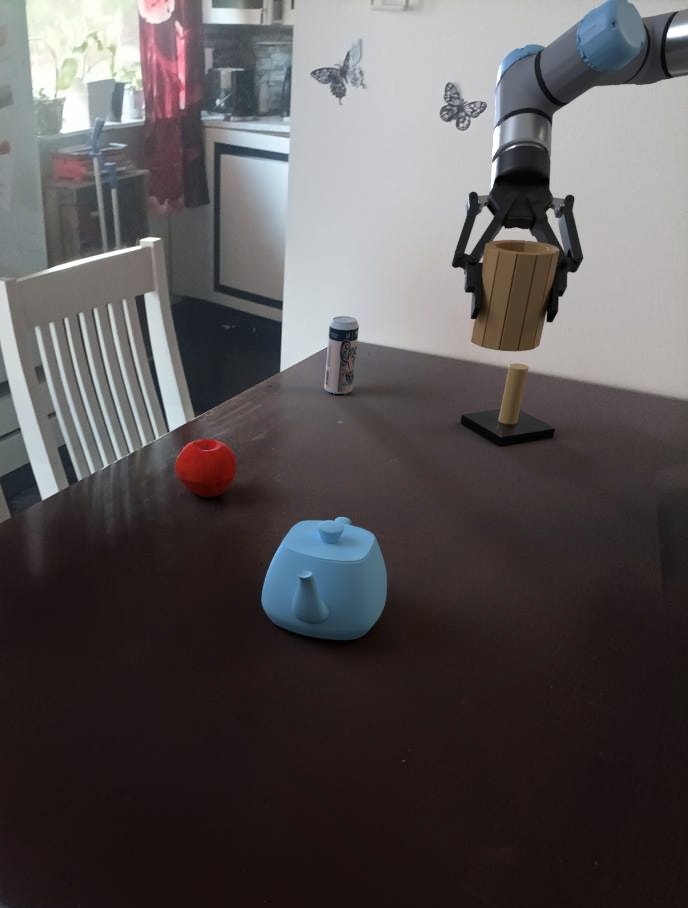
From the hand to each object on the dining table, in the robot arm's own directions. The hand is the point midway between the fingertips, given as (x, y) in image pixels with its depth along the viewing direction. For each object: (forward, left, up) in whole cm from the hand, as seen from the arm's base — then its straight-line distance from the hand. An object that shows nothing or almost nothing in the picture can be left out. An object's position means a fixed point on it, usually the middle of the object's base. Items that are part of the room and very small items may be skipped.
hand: (513, 315), depth 117 cm
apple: (+5, +41, -21) cm, 46 cm away
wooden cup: (+3, -2, -4) cm, 5 cm away
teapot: (-28, +41, -21) cm, 54 cm away
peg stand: (+10, -11, -21) cm, 25 cm away
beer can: (+35, +5, -21) cm, 41 cm away
